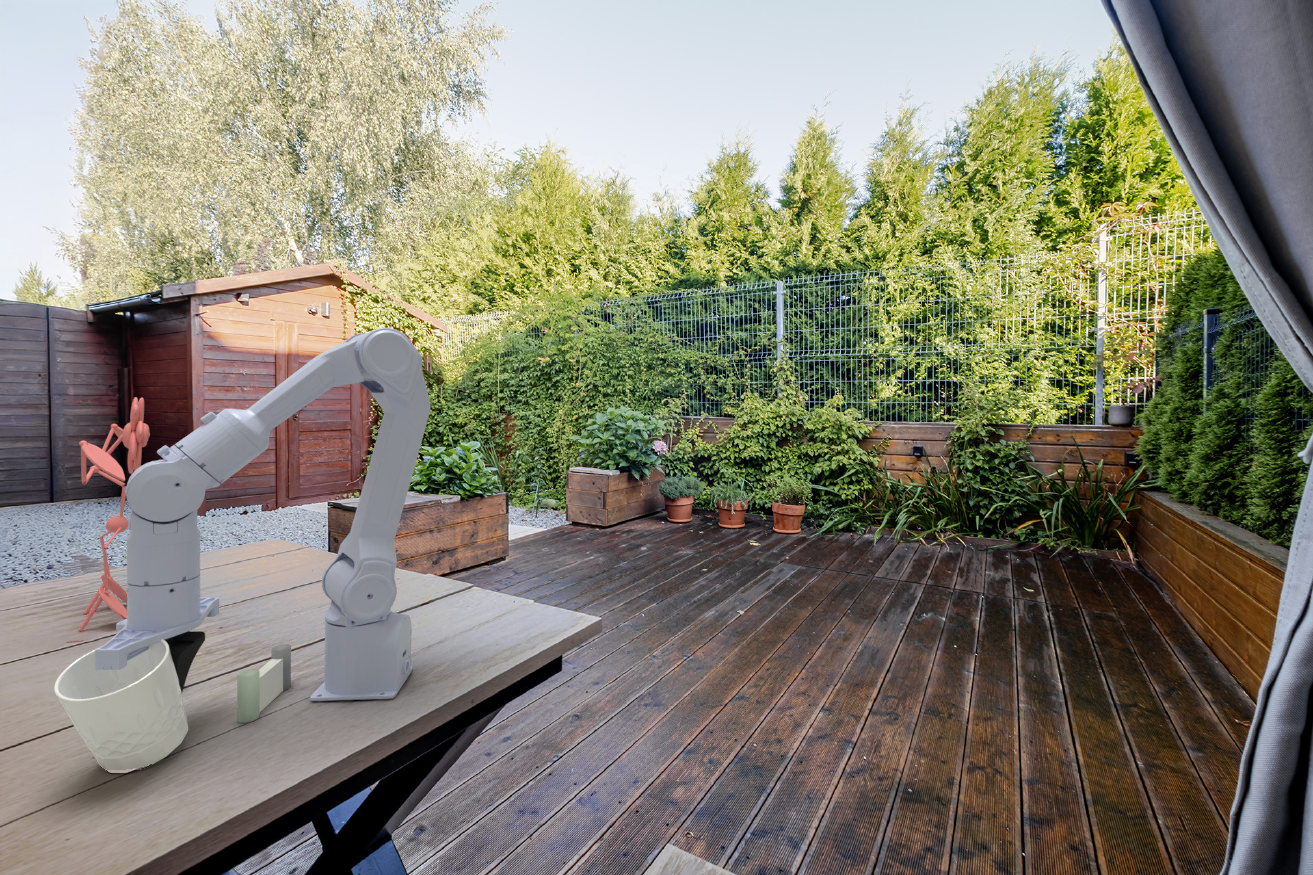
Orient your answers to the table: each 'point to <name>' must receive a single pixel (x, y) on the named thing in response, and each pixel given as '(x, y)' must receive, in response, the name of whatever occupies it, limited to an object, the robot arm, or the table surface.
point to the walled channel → (263, 684)
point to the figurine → (134, 440)
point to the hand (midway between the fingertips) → (164, 708)
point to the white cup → (126, 708)
